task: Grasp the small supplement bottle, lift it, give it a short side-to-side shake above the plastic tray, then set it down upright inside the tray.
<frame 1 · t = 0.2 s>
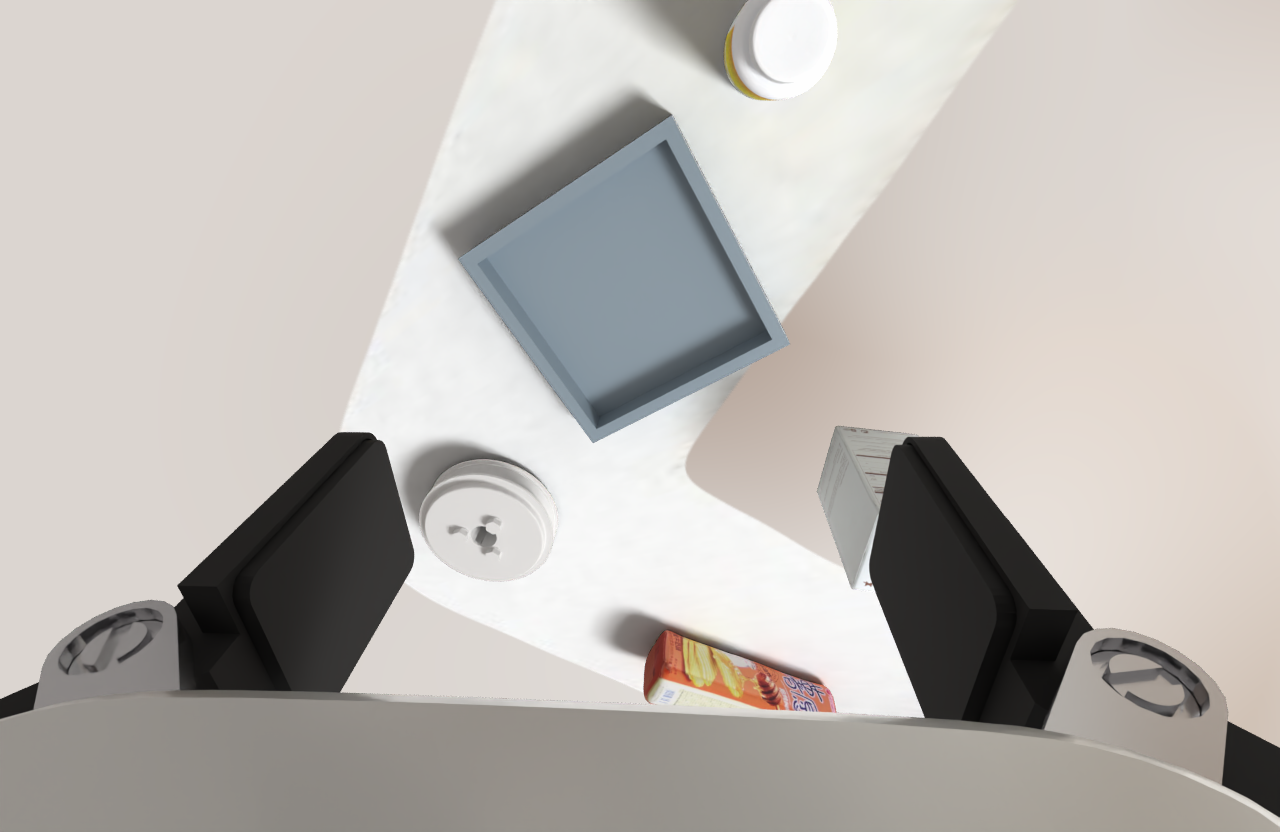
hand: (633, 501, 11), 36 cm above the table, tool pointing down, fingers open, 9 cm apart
tray: (630, 290, 46), on the table
supplement box: (865, 461, 52), on the table
snack package: (738, 665, 67), on the table
supplement bottle: (765, 51, 38), on the table
lid: (497, 506, 58), on the table
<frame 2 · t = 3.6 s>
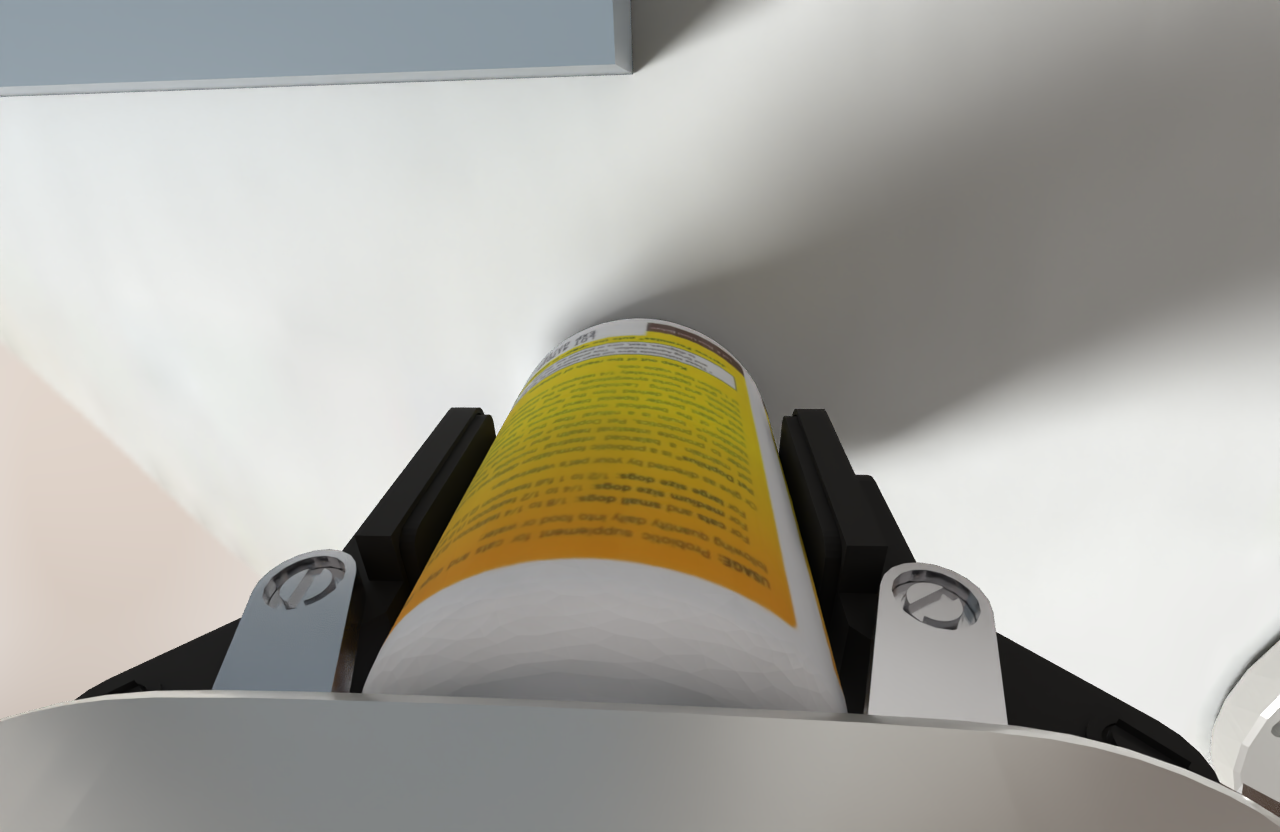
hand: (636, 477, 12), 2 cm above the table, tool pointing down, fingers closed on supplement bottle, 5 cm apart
supplement bottle: (643, 422, 14), on the table, touching gripper
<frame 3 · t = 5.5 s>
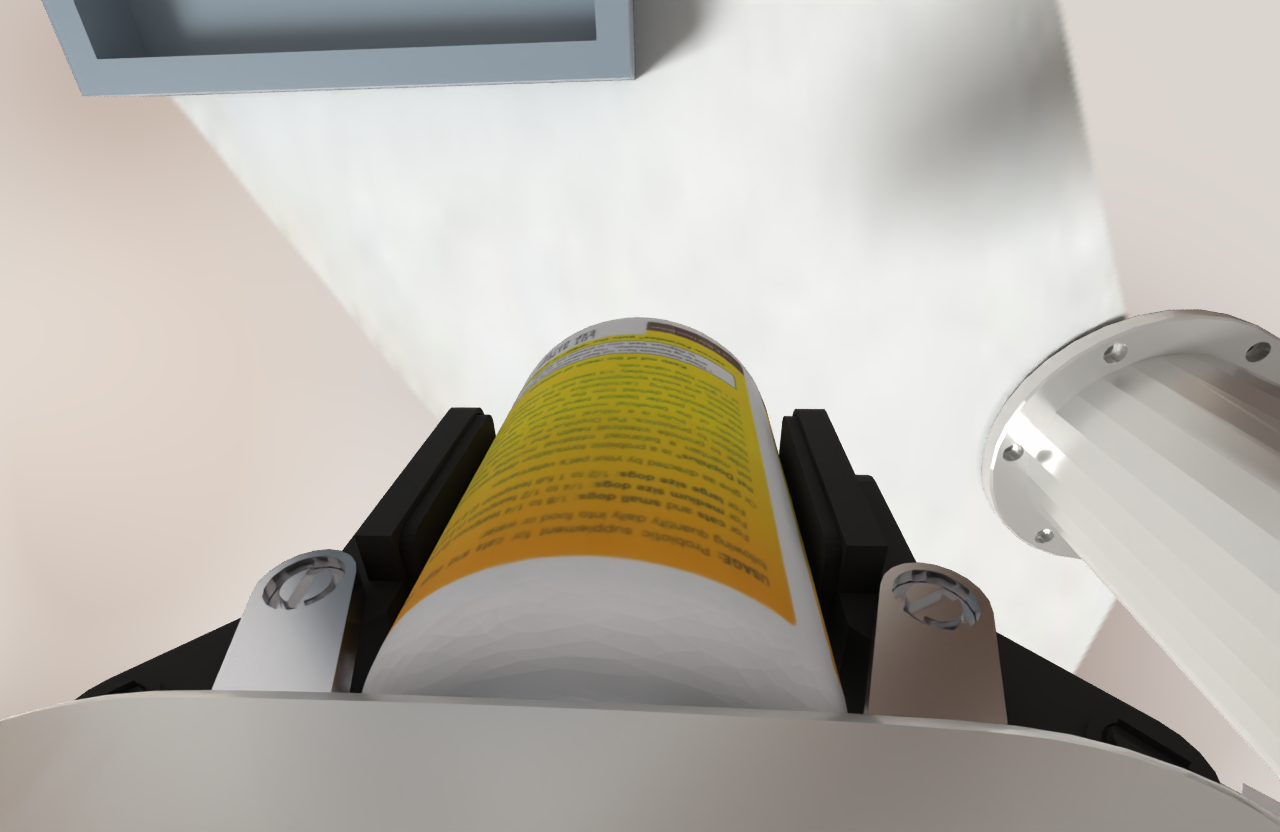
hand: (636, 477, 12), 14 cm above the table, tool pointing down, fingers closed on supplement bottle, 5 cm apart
supplement bottle: (643, 421, 14), point 12 cm above the table, touching gripper
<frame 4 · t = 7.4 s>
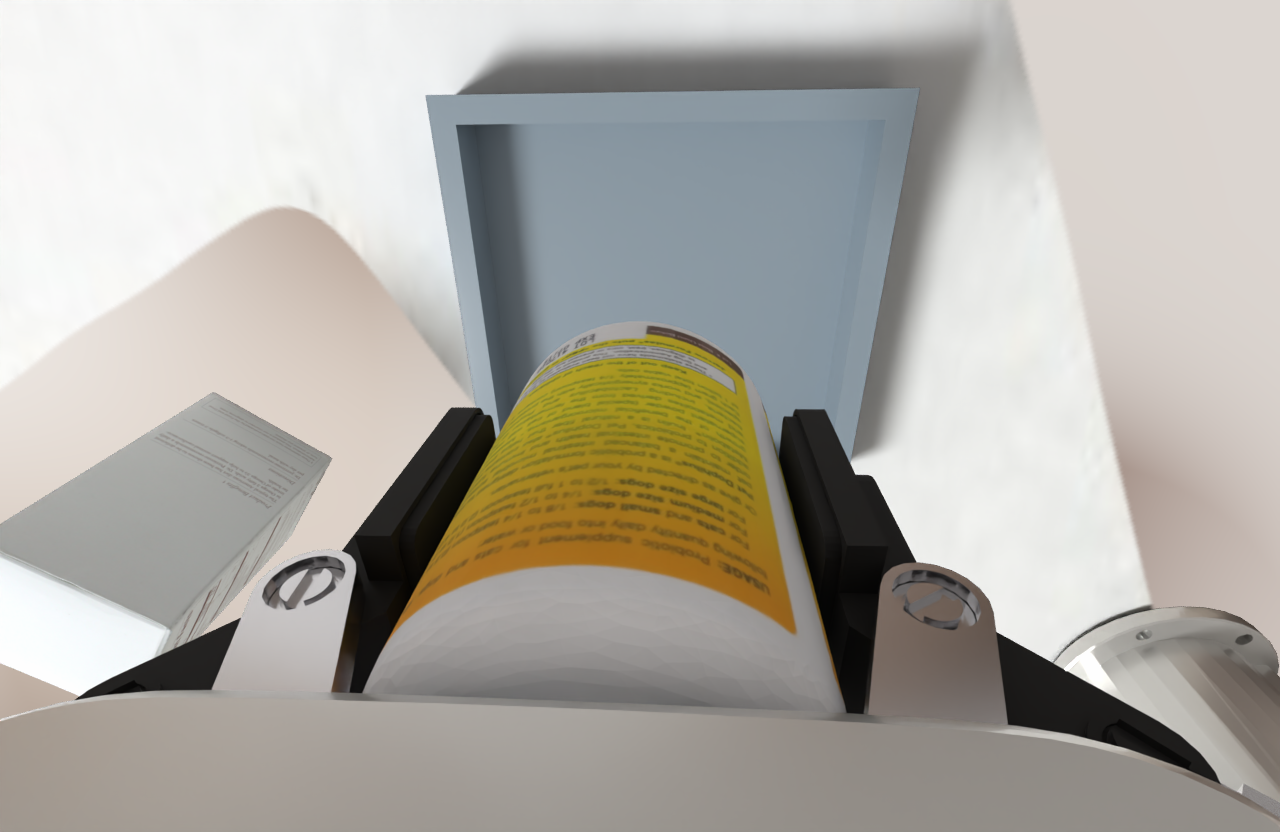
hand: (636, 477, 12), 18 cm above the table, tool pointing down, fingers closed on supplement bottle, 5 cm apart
tray: (666, 306, 28), on the table
supplement box: (259, 465, 35), on the table
supplement bottle: (643, 425, 14), point 15 cm above the table, touching gripper
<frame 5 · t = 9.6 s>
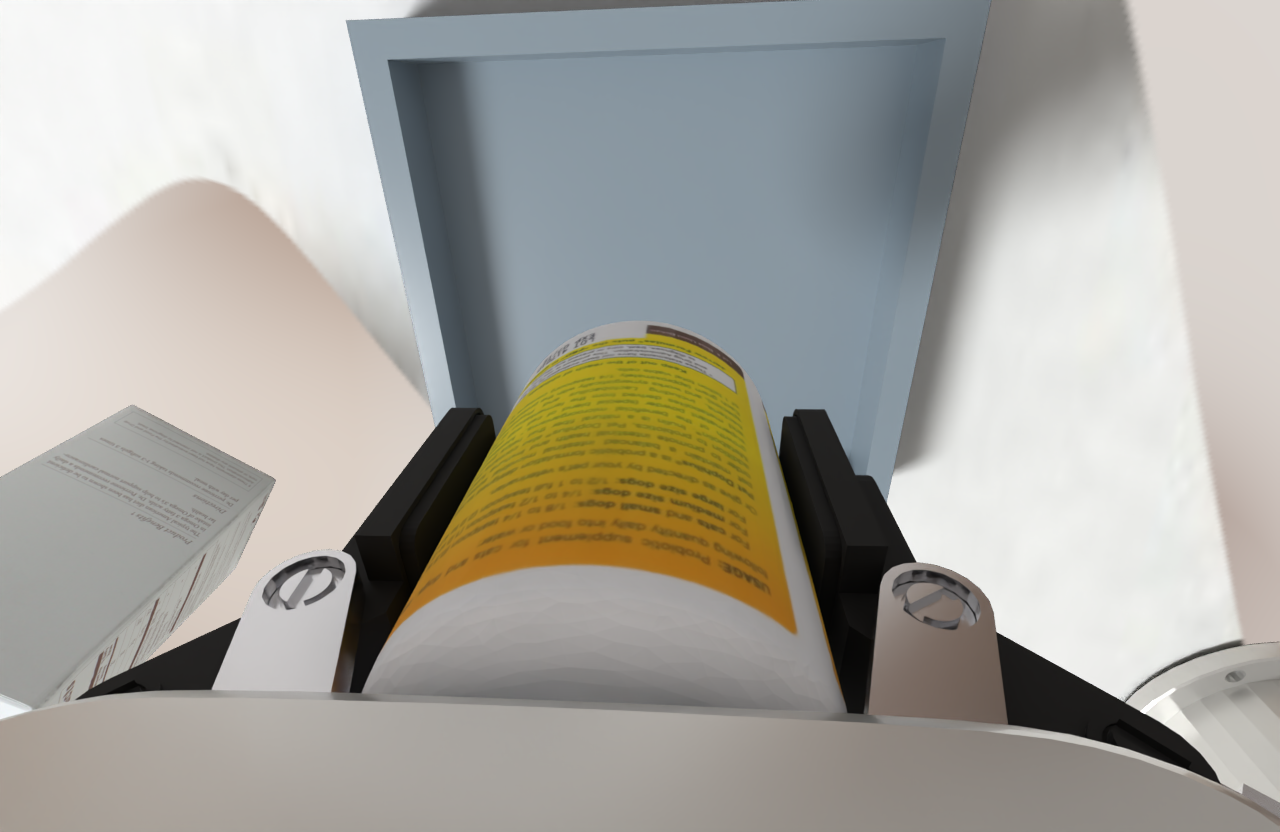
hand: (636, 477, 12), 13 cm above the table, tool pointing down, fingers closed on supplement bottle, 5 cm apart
tray: (663, 293, 23), on the table
supplement box: (194, 488, 30), on the table
supplement bottle: (643, 424, 14), point 11 cm above the table, touching gripper
when the fingers open (4 cm above the table, at t = 11.5 s): supplement bottle drops 1 cm, resting on tray.
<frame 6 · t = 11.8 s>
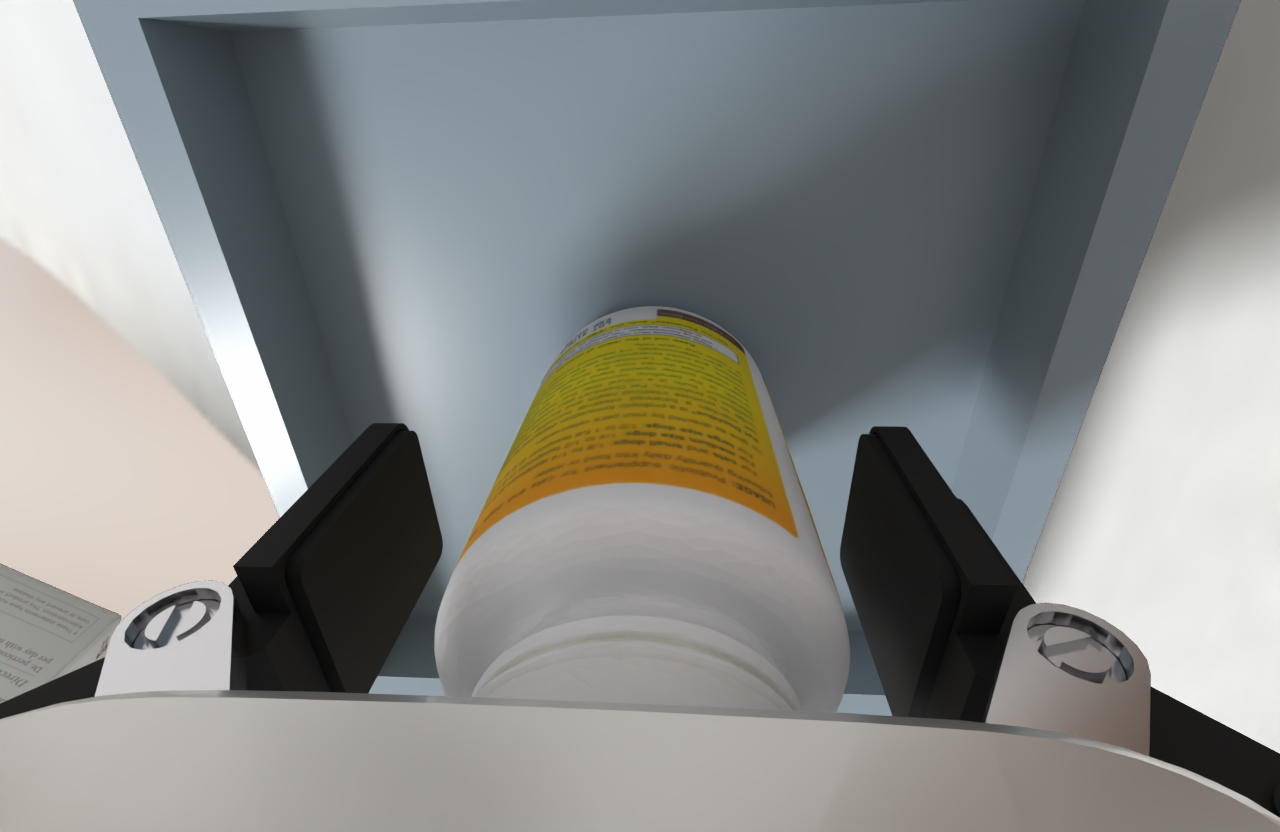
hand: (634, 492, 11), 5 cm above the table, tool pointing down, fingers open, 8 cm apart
tray: (647, 384, 15), on the table
supplement box: (17, 621, 22), on the table
supplement bottle: (654, 403, 15), point 1 cm above the table, touching tray
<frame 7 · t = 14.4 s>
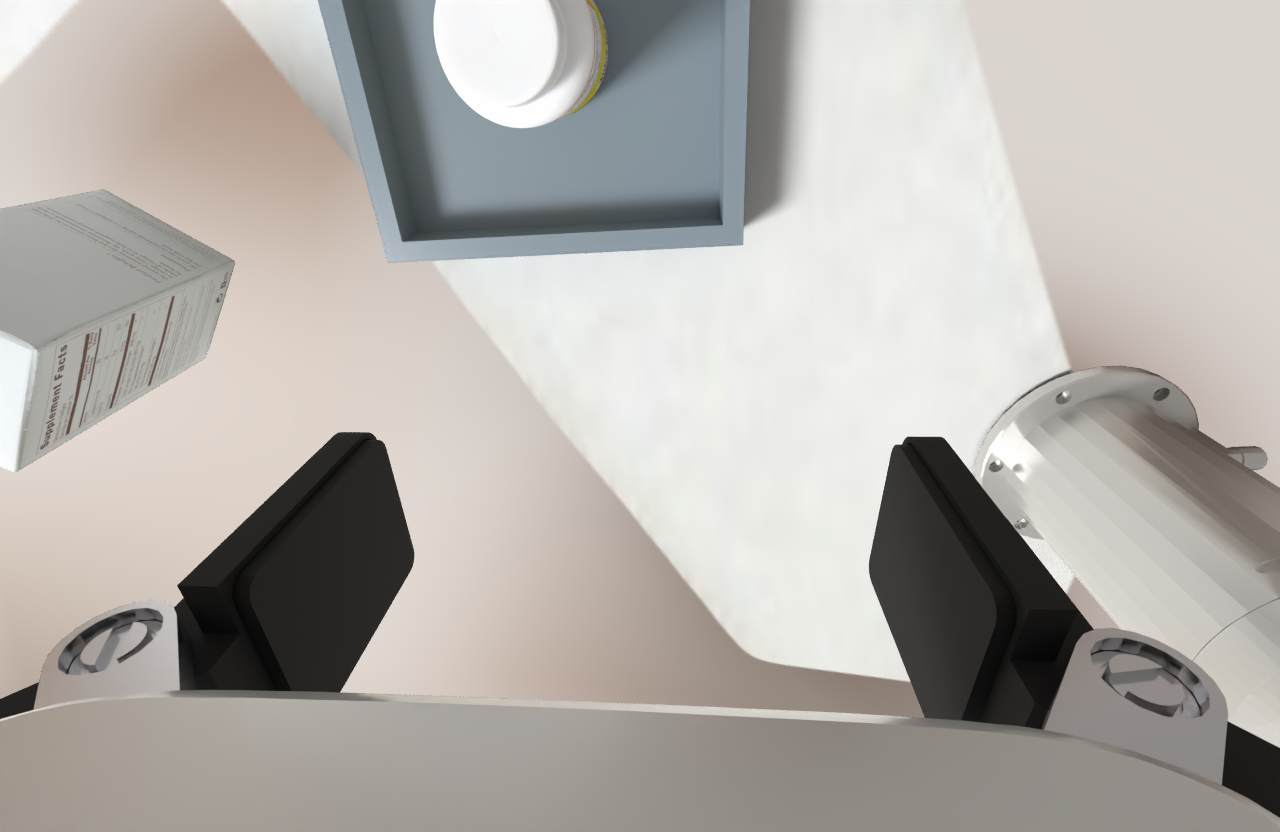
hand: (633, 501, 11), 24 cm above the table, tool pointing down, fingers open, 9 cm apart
tray: (548, 46, 28), on the table
supplement box: (163, 278, 34), on the table
supplement bottle: (551, 50, 27), point 1 cm above the table, touching tray
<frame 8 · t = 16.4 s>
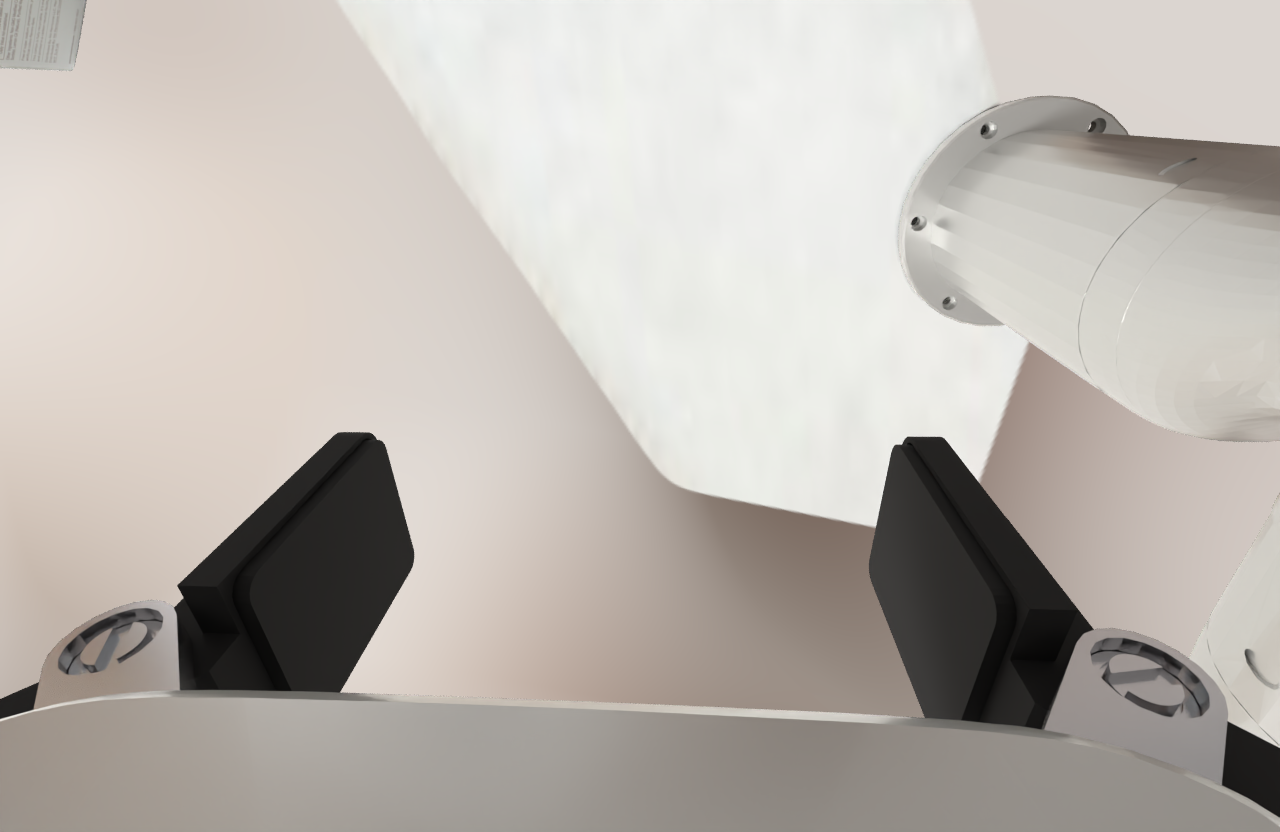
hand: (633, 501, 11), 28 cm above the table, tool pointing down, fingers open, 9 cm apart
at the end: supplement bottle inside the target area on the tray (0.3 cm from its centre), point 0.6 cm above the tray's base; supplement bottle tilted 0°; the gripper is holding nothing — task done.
